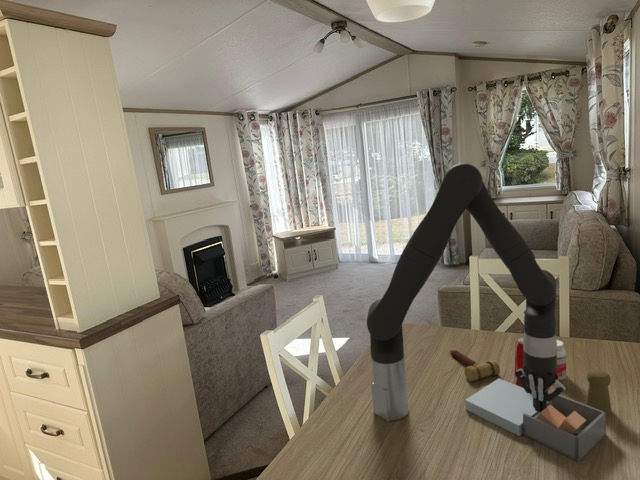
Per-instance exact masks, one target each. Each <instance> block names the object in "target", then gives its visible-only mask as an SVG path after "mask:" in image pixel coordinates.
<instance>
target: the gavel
mask: <svg viewBox="0 0 640 480" xmlns="http://www.w3.org/2000/svg"><path fill="white" fill-rule="evenodd" d="M449 353H450V354H451V356H452V357H454V359H455V360H457V361H459V362H461V363H462V364H463V365H465V366H466V367H465V368H464V376H465V378H466V379H467V380H468V381H469V382H471V383H472V382H475V381H476V382H477V381H478V379H483V378H486V377H491V376H492V377H494V376H498V375H500V373H501V372H500V371H501V369H500V365H499V363H498V362H497V361H496V360H493V359H492V360H488V361H487V362H485V363H480V364H478V363H477V362H476V361H475V360H473V359H471V358H470V357H468V356H467V355H465V354H463V353H462V352H460V351H458V350H457V349H450V350H449Z"/></svg>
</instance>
